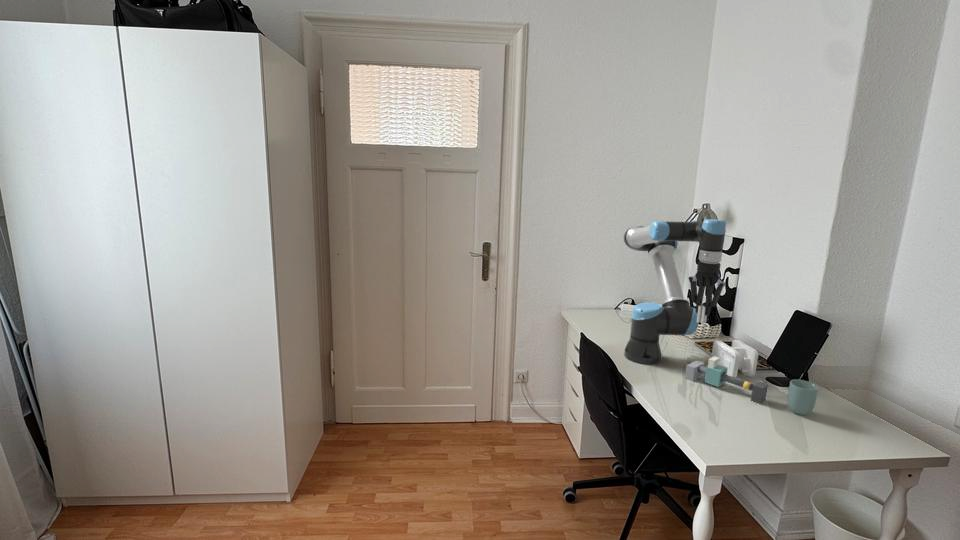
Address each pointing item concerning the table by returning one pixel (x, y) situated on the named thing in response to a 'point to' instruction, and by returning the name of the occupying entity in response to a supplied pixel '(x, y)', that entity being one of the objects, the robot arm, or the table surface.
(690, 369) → the grey slab
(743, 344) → the cable organizer
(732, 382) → the grey rod
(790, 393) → the cup
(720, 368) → the sleeve
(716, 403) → the table surface
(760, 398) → the block
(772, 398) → the table surface
